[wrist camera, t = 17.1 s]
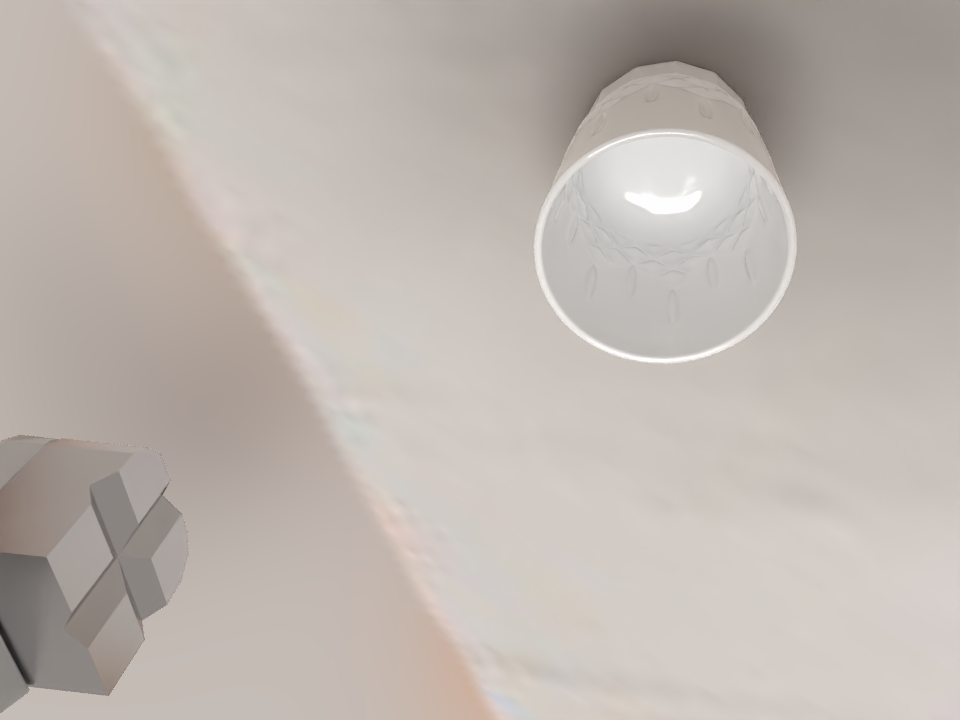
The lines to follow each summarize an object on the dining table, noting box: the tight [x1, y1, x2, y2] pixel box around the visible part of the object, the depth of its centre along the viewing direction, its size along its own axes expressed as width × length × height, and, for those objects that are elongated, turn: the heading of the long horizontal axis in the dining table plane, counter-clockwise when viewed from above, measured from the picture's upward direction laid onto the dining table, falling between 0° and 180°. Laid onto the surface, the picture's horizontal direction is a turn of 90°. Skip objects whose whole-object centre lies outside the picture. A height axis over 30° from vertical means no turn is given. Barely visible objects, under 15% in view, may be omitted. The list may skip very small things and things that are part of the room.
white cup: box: [534, 61, 797, 364], centre depth 32 cm, size 8×8×10 cm
